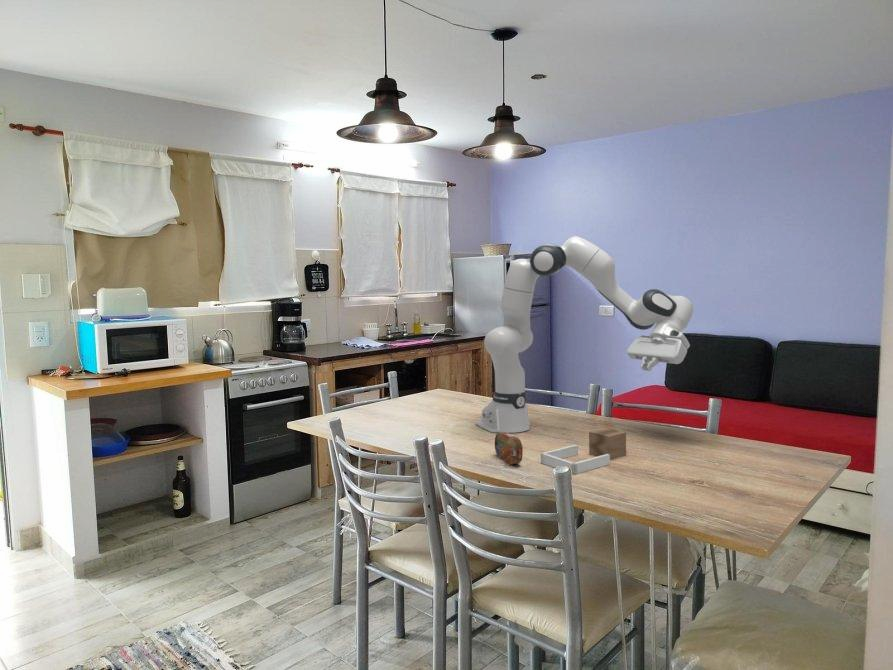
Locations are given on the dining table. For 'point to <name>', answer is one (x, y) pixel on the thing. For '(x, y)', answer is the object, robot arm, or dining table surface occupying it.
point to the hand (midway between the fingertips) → (645, 369)
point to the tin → (508, 448)
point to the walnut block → (607, 443)
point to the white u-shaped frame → (556, 459)
